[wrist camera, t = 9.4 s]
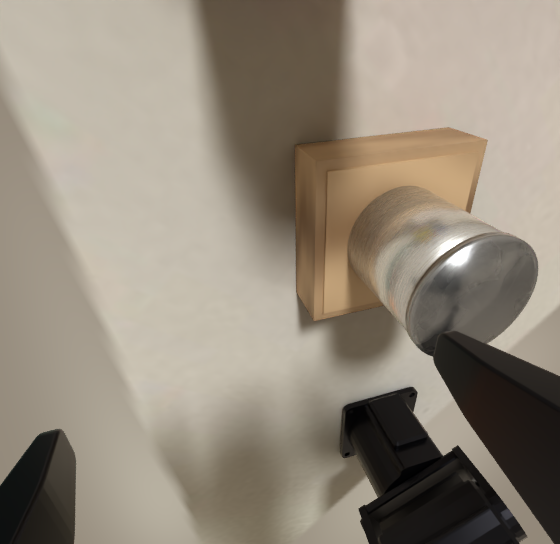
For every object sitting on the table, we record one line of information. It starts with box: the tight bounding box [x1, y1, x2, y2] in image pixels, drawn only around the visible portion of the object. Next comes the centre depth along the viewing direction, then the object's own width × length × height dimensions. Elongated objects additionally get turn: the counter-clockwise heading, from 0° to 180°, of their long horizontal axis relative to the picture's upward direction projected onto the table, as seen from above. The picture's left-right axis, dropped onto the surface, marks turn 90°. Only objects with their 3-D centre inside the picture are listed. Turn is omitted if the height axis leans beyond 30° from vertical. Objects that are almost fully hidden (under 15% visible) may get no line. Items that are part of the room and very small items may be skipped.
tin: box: [347, 186, 538, 356], centre depth 18 cm, size 6×6×6 cm
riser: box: [295, 127, 488, 321], centre depth 22 cm, size 9×9×3 cm
